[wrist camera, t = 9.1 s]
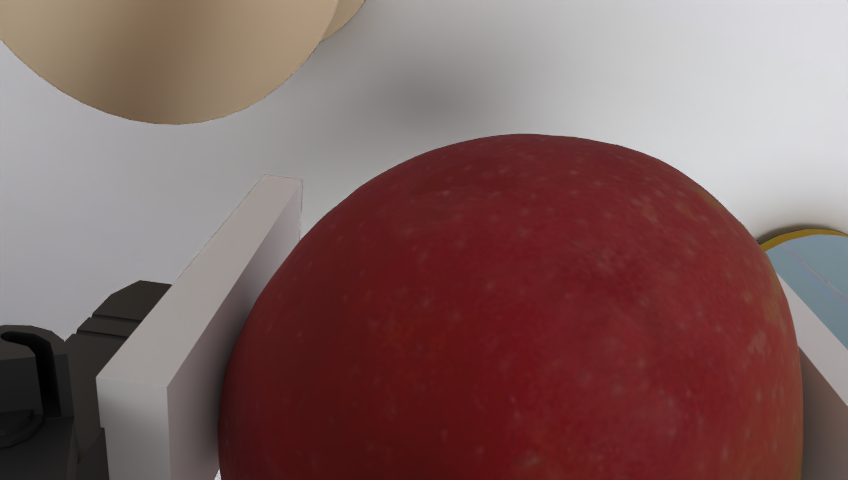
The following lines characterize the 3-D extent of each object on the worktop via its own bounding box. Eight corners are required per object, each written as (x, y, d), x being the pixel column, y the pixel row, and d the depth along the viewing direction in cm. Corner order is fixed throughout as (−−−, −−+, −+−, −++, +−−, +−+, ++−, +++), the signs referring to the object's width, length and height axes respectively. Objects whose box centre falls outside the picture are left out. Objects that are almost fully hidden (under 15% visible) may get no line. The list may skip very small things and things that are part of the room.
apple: (303, 57, 12) (60, 244, 5) (748, 113, 12) (1181, 385, 5) (291, 394, 15) (134, 815, 8) (643, 439, 15) (806, 901, 8)
